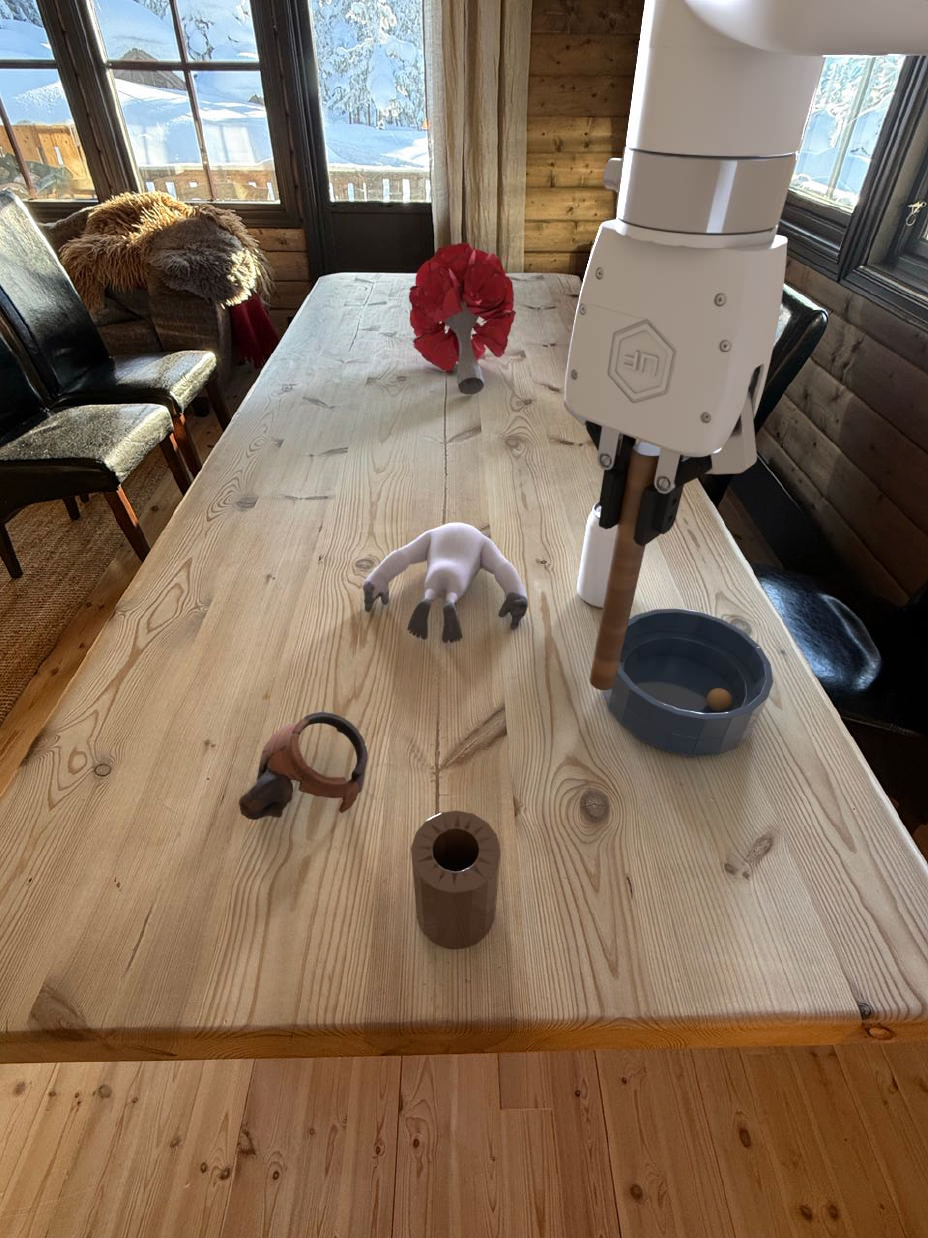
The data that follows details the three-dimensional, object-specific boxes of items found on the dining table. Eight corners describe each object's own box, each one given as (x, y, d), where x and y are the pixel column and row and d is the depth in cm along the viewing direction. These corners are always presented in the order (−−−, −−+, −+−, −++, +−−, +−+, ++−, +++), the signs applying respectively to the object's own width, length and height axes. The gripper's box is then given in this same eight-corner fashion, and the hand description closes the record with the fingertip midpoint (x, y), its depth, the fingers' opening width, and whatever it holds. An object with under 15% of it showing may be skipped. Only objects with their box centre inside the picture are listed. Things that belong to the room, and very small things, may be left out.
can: (571, 579, 84) (583, 497, 76) (620, 576, 85) (637, 494, 77) (583, 611, 79) (597, 527, 71) (635, 608, 80) (655, 524, 72)
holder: (485, 959, 49) (489, 901, 43) (406, 938, 50) (399, 880, 44) (502, 881, 54) (507, 820, 48) (428, 864, 55) (425, 802, 49)
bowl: (761, 774, 62) (781, 733, 58) (596, 742, 64) (605, 701, 60) (747, 661, 73) (764, 621, 69) (608, 639, 76) (616, 598, 72)
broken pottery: (292, 733, 66) (324, 685, 61) (359, 800, 65) (397, 757, 60) (197, 805, 56) (227, 754, 51) (275, 885, 55) (313, 841, 50)
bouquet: (524, 416, 137) (505, 303, 147) (534, 332, 115) (511, 206, 125) (421, 426, 137) (409, 312, 146) (411, 345, 114) (397, 217, 124)
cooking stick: (613, 693, 51) (666, 458, 38) (588, 688, 52) (631, 454, 39) (615, 675, 53) (666, 443, 40) (590, 670, 53) (633, 439, 40)
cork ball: (699, 691, 67) (707, 713, 66) (721, 682, 65) (730, 704, 64) (708, 696, 68) (716, 717, 67) (730, 687, 67) (739, 709, 66)
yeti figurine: (507, 671, 74) (545, 568, 88) (515, 628, 69) (554, 527, 84) (347, 624, 77) (408, 532, 91) (344, 580, 73) (410, 490, 87)
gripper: (520, 186, 33) (504, 505, 45) (839, 233, 25) (715, 609, 37) (607, 172, 37) (571, 468, 49) (907, 208, 29) (775, 554, 41)
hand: (633, 526), depth 43 cm, fingers closed on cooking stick, 2 cm apart
